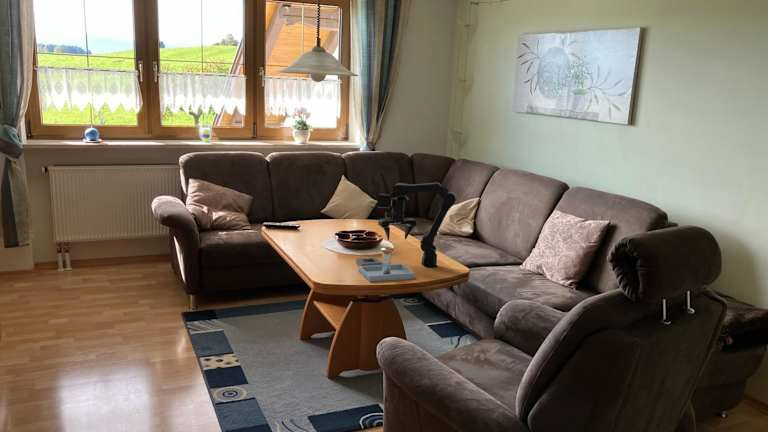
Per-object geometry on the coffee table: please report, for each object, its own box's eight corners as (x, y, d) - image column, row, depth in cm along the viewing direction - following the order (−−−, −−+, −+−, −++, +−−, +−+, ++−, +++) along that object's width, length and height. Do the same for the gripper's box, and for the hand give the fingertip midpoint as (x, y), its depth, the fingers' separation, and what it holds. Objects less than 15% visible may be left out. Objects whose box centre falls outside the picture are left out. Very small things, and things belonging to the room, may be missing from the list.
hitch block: (375, 262, 312) (375, 257, 311) (381, 267, 302) (381, 262, 302) (356, 263, 308) (356, 258, 308) (362, 268, 299) (362, 263, 299)
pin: (385, 271, 295) (386, 246, 292) (394, 273, 291) (395, 248, 288) (377, 273, 290) (378, 248, 288) (387, 276, 287) (387, 250, 284)
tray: (401, 268, 302) (402, 263, 301) (414, 278, 287) (414, 273, 287) (358, 271, 294) (358, 266, 294) (369, 281, 280) (369, 276, 279)
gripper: (409, 205, 317) (408, 235, 320) (375, 206, 311) (373, 236, 314) (418, 209, 307) (416, 240, 310) (382, 210, 301) (381, 241, 304)
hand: (396, 239), depth 310 cm, fingers open, 9 cm apart
